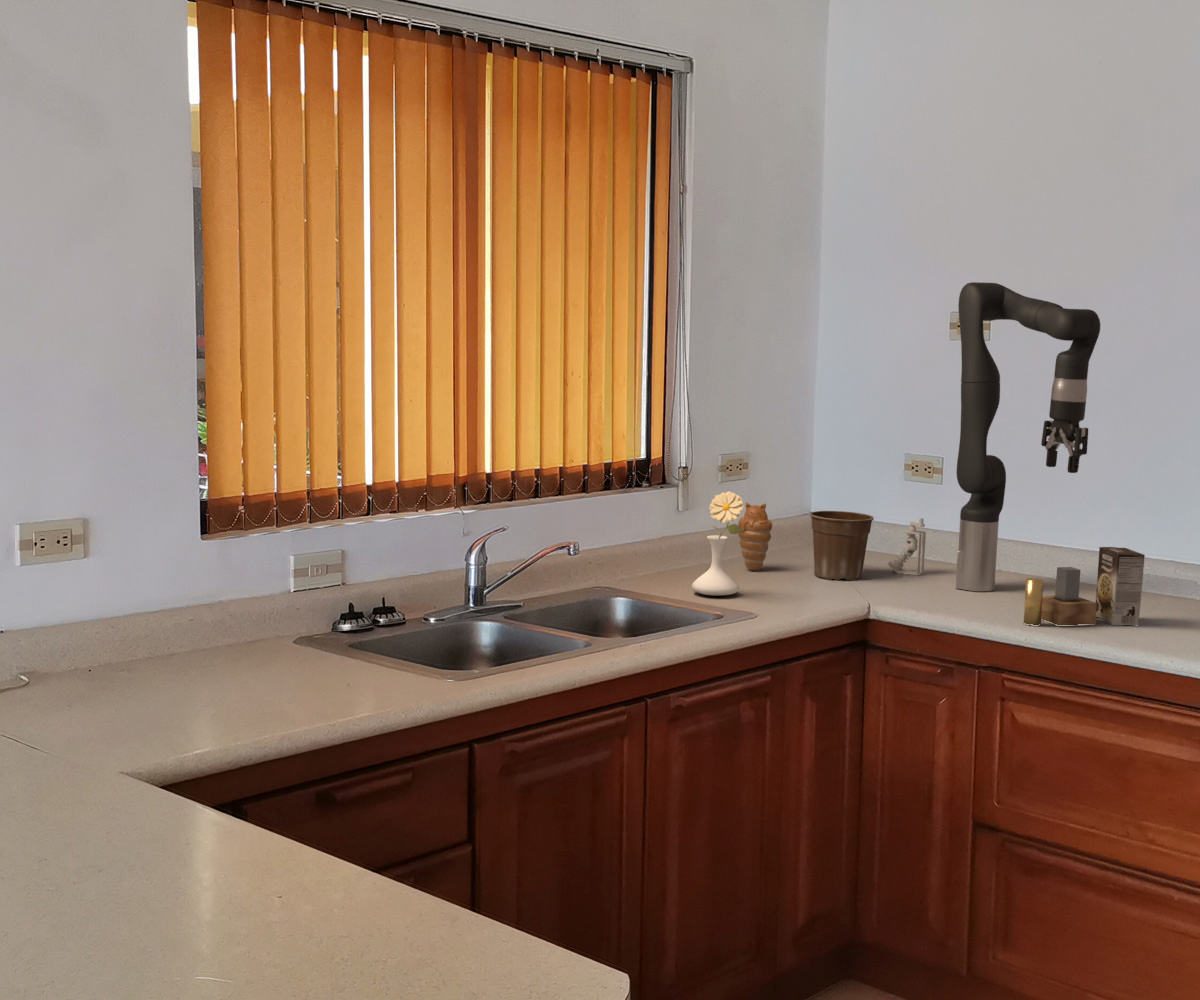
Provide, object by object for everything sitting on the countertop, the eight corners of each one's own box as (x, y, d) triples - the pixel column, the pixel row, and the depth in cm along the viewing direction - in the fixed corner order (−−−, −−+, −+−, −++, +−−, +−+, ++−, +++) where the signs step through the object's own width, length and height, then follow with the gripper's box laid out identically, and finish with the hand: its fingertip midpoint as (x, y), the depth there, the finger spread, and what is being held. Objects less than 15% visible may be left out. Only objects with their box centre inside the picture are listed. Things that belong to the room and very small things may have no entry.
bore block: (1059, 626, 287) (1061, 604, 286) (1035, 617, 295) (1036, 596, 294) (1095, 625, 289) (1096, 602, 288) (1070, 616, 298) (1071, 594, 297)
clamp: (892, 569, 352) (895, 514, 350) (926, 574, 347) (929, 517, 345) (885, 571, 349) (888, 515, 347) (919, 576, 343) (923, 519, 341)
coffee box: (1093, 616, 298) (1098, 546, 296) (1120, 617, 298) (1125, 546, 296) (1111, 626, 289) (1117, 553, 287) (1140, 626, 289) (1145, 553, 287)
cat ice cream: (735, 572, 343) (737, 503, 340) (738, 567, 350) (741, 500, 348) (769, 574, 341) (772, 505, 338) (772, 569, 348) (774, 501, 346)
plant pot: (880, 576, 342) (883, 514, 340) (856, 585, 329) (860, 521, 327) (821, 568, 351) (824, 508, 349) (796, 577, 338) (799, 515, 336)
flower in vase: (681, 593, 313) (684, 489, 310) (711, 587, 321) (714, 486, 318) (725, 602, 304) (729, 495, 301) (754, 595, 313) (758, 491, 309)
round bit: (1023, 625, 287) (1026, 580, 286) (1023, 622, 291) (1025, 577, 289) (1041, 626, 286) (1043, 581, 285) (1040, 623, 290) (1043, 578, 288)
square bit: (1062, 623, 290) (1066, 570, 288) (1053, 620, 293) (1057, 567, 292) (1076, 623, 291) (1080, 569, 289) (1067, 619, 294) (1070, 566, 293)
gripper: (1102, 402, 290) (1094, 474, 293) (1065, 395, 304) (1058, 464, 307) (1072, 401, 288) (1064, 475, 291) (1036, 394, 302) (1029, 464, 305)
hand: (1061, 469), depth 299 cm, fingers open, 8 cm apart
